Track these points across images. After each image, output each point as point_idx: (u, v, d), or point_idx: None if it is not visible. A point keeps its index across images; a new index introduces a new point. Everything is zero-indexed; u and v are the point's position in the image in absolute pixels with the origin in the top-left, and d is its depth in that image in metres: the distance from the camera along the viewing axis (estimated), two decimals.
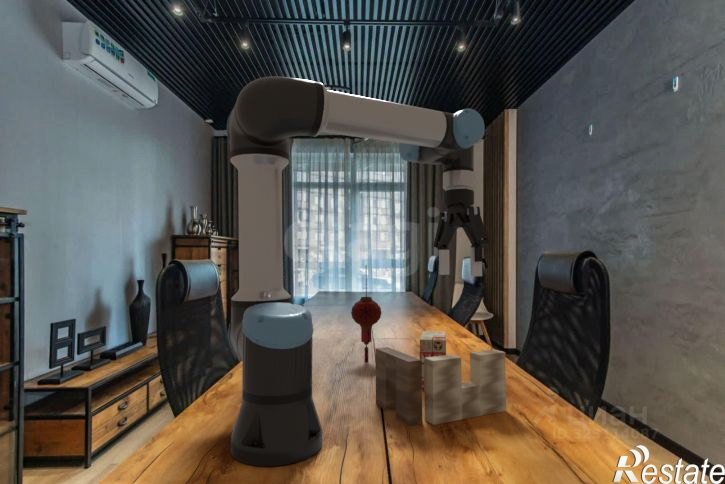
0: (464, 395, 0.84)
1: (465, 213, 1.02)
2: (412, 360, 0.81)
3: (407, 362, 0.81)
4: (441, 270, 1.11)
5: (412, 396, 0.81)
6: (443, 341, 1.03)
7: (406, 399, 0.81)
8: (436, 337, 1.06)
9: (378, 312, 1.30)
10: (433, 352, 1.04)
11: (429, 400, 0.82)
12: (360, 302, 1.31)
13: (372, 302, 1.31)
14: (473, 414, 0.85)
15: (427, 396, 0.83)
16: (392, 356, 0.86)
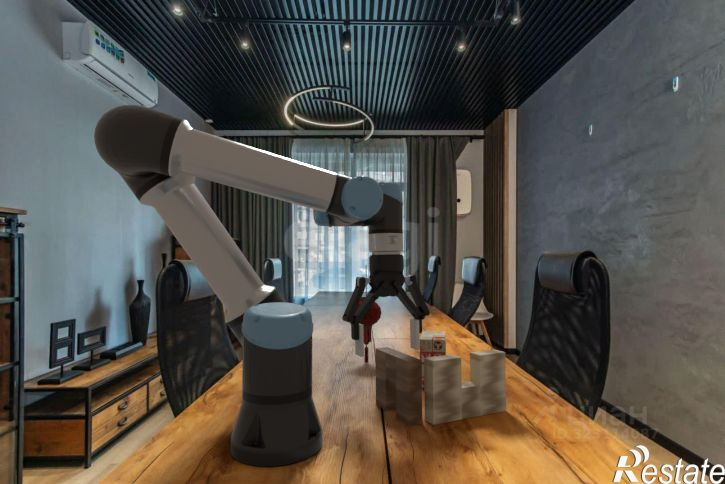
0: (464, 395, 0.84)
1: None
2: (412, 360, 0.81)
3: (407, 362, 0.81)
4: (411, 342, 0.96)
5: (412, 396, 0.81)
6: (443, 341, 1.03)
7: (406, 399, 0.81)
8: (436, 337, 1.07)
9: (378, 312, 1.30)
10: (433, 352, 1.04)
11: (429, 400, 0.82)
12: (360, 302, 1.31)
13: None
14: (473, 414, 0.85)
15: (427, 396, 0.83)
16: (392, 356, 0.86)
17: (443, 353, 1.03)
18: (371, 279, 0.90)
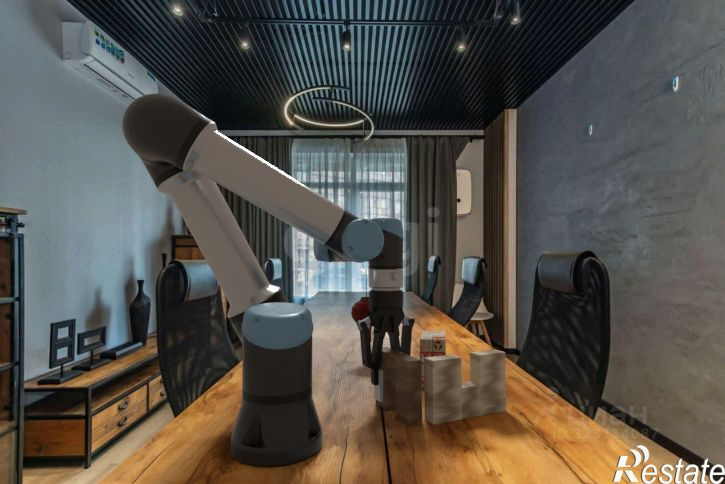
0: (464, 395, 0.84)
1: None
2: (412, 360, 0.81)
3: (407, 362, 0.81)
4: None
5: (412, 396, 0.81)
6: (443, 341, 1.04)
7: (406, 399, 0.81)
8: (436, 337, 1.07)
9: None
10: (433, 352, 1.04)
11: (429, 400, 0.82)
12: (360, 302, 1.31)
13: None
14: (473, 414, 0.85)
15: (427, 396, 0.83)
16: (392, 356, 0.86)
17: (443, 353, 1.04)
18: (370, 318, 0.90)
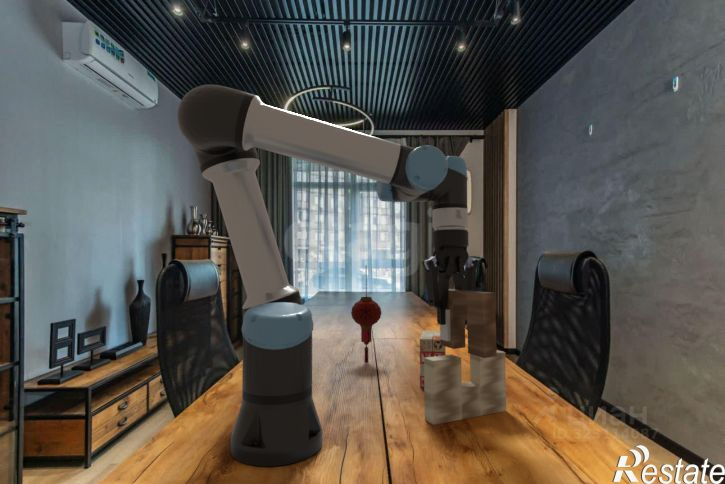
0: (464, 395, 0.84)
1: None
2: (486, 293, 0.81)
3: (481, 294, 0.80)
4: None
5: (487, 328, 0.80)
6: None
7: (481, 331, 0.80)
8: (436, 336, 1.07)
9: (378, 312, 1.30)
10: (433, 352, 1.04)
11: (429, 400, 0.82)
12: (360, 302, 1.31)
13: (372, 302, 1.31)
14: (473, 414, 0.85)
15: (427, 396, 0.83)
16: (461, 292, 0.86)
17: (443, 353, 1.04)
18: (437, 257, 0.89)
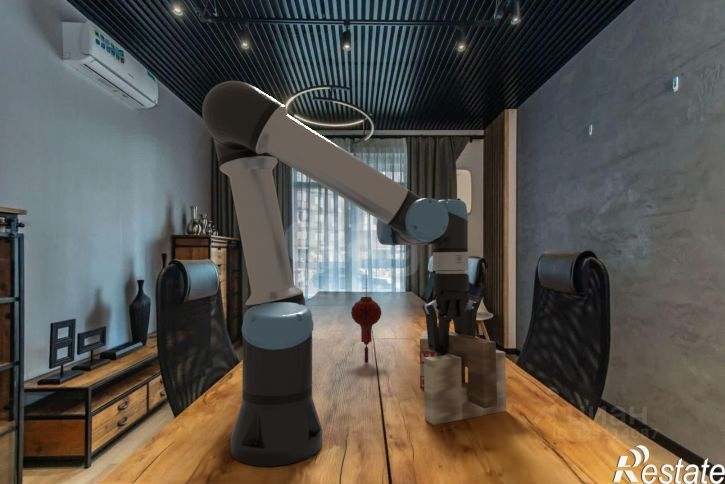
0: (464, 395, 0.84)
1: None
2: (487, 342, 0.80)
3: (481, 344, 0.80)
4: None
5: (487, 378, 0.80)
6: None
7: (481, 381, 0.80)
8: None
9: (378, 312, 1.30)
10: (433, 351, 1.04)
11: (429, 400, 0.82)
12: (360, 302, 1.31)
13: (372, 302, 1.31)
14: (473, 414, 0.85)
15: (427, 396, 0.83)
16: (462, 339, 0.85)
17: None
18: (437, 301, 0.89)
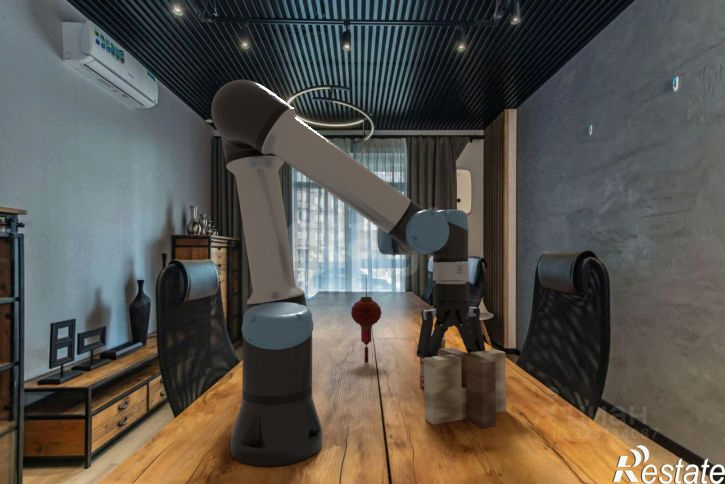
0: (464, 395, 0.84)
1: None
2: (486, 362, 0.80)
3: (481, 363, 0.80)
4: None
5: (487, 398, 0.79)
6: (443, 340, 1.04)
7: (480, 401, 0.80)
8: None
9: (378, 312, 1.30)
10: None
11: (429, 400, 0.82)
12: (360, 302, 1.31)
13: (372, 302, 1.31)
14: None
15: (427, 396, 0.83)
16: (461, 357, 0.85)
17: None
18: (437, 310, 0.89)
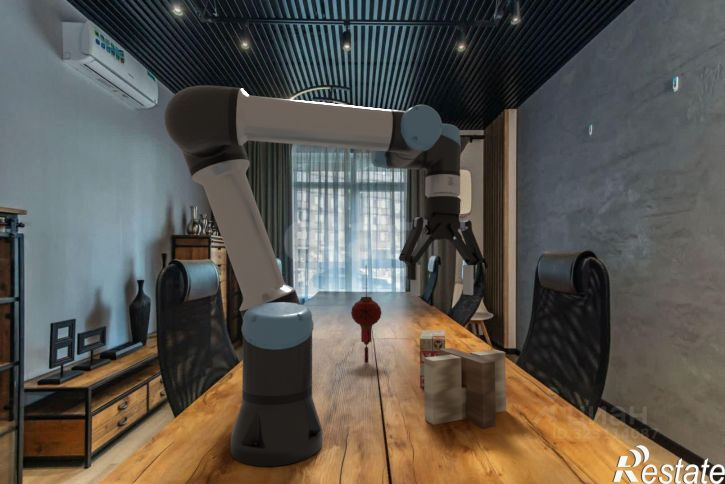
0: (464, 395, 0.84)
1: (425, 225, 0.91)
2: (486, 362, 0.80)
3: (481, 363, 0.80)
4: (463, 289, 0.95)
5: (486, 398, 0.79)
6: (443, 340, 1.05)
7: (480, 401, 0.80)
8: (436, 336, 1.08)
9: (378, 312, 1.30)
10: (433, 351, 1.05)
11: (429, 400, 0.82)
12: (360, 302, 1.31)
13: (372, 302, 1.31)
14: None
15: (427, 396, 0.83)
16: (461, 357, 0.85)
17: None
18: (428, 220, 0.90)
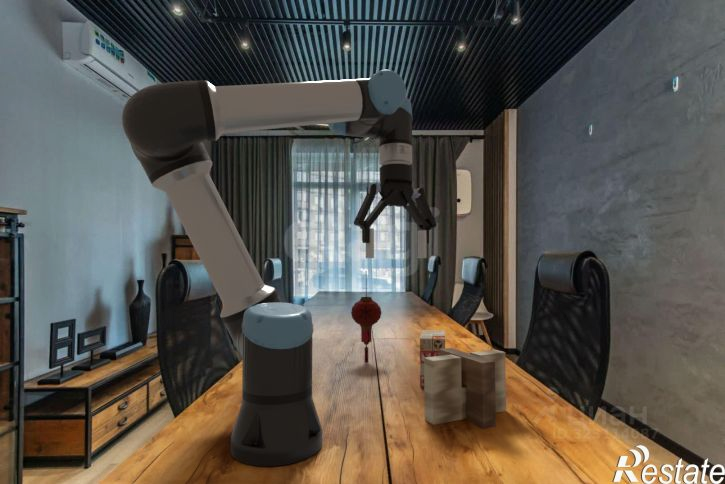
0: (464, 395, 0.84)
1: (379, 192, 0.96)
2: (486, 362, 0.80)
3: (481, 363, 0.80)
4: (418, 253, 1.00)
5: (486, 398, 0.79)
6: (443, 340, 1.05)
7: (480, 401, 0.80)
8: (436, 336, 1.08)
9: (378, 312, 1.30)
10: (433, 351, 1.05)
11: (429, 400, 0.82)
12: (360, 302, 1.31)
13: (372, 302, 1.31)
14: None
15: (427, 396, 0.83)
16: (461, 357, 0.85)
17: None
18: (381, 187, 0.95)
